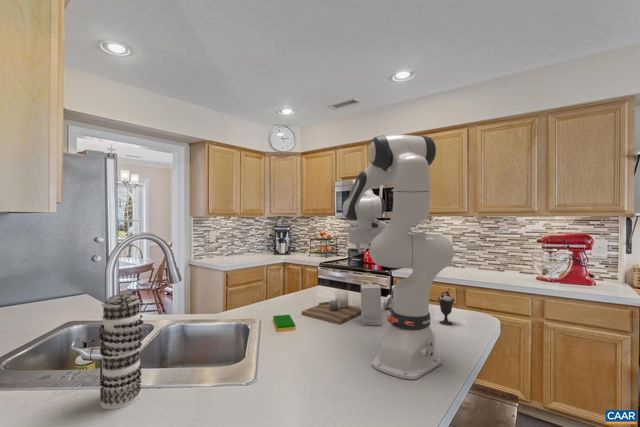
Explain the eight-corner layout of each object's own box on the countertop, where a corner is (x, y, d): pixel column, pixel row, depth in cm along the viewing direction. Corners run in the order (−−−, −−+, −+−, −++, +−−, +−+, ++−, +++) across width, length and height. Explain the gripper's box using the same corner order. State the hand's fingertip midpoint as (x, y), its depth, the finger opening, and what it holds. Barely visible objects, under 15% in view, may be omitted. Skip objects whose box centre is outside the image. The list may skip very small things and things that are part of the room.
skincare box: (380, 320, 135) (380, 284, 135) (381, 326, 129) (381, 287, 129) (360, 320, 136) (360, 283, 136) (360, 325, 130) (361, 287, 130)
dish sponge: (277, 333, 122) (277, 326, 122) (273, 321, 136) (273, 315, 136) (295, 331, 124) (295, 325, 124) (289, 319, 137) (289, 314, 137)
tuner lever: (337, 311, 142) (337, 296, 142) (326, 308, 146) (326, 294, 146) (350, 305, 151) (350, 291, 151) (340, 303, 154) (340, 290, 155)
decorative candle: (150, 388, 82) (150, 291, 82) (129, 409, 73) (130, 301, 73) (114, 388, 82) (114, 291, 82) (89, 410, 73) (89, 301, 73)
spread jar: (408, 315, 142) (408, 289, 142) (382, 314, 145) (382, 288, 145) (406, 308, 154) (406, 284, 154) (383, 306, 156) (383, 282, 156)
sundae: (452, 327, 128) (452, 289, 128) (435, 323, 132) (435, 287, 132) (456, 322, 133) (456, 286, 133) (440, 319, 137) (440, 284, 137)
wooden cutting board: (340, 324, 130) (340, 318, 130) (301, 314, 143) (301, 309, 143) (365, 312, 147) (365, 306, 147) (328, 304, 160) (328, 299, 160)
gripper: (344, 225, 153) (347, 253, 154) (382, 224, 140) (385, 255, 141) (351, 223, 158) (354, 251, 159) (389, 222, 145) (391, 252, 146)
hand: (369, 253), depth 150 cm, fingers open, 8 cm apart
